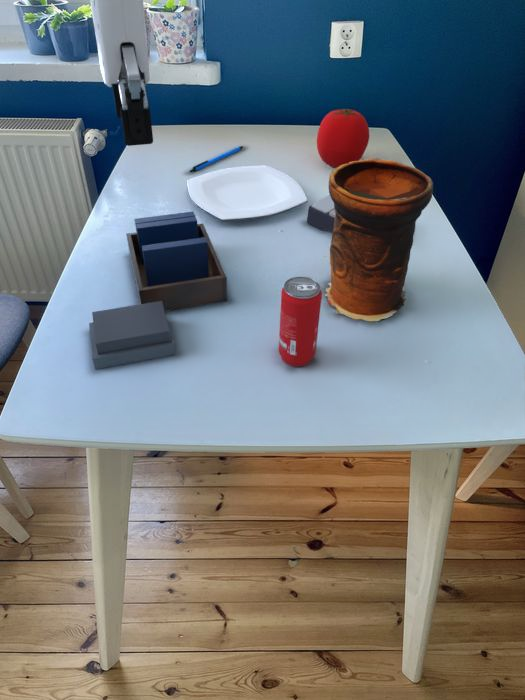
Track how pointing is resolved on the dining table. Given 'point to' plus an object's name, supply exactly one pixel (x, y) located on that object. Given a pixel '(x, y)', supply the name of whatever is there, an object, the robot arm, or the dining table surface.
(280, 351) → the beverage can
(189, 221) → the blue books
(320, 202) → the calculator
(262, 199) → the plate
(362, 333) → the dining table surface
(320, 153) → the tomato
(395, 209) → the vessel
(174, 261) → the blue book
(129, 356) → the grey books
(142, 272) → the book box
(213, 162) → the pen
